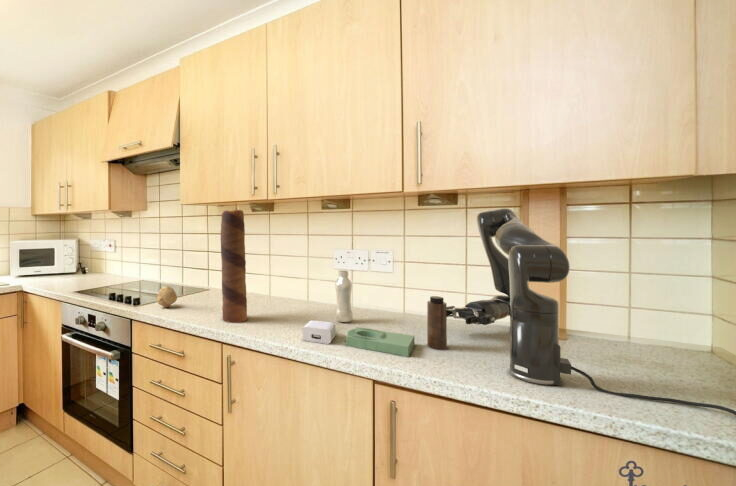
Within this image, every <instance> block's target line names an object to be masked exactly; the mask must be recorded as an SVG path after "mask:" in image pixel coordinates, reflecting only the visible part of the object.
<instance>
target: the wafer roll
mask: <svg viewBox="0 0 736 486" xmlns="http://www.w3.org/2000/svg"><path fill="white" fill-rule="evenodd" d="M245 235H246V229H245V215H244V211H243V210H242V209H232V210H228V209H224V210H223V211H222V213H221V222H220V258H221V296H222V320H223V321H225V322H228V323H241V322H246V321H247V320H248V298H247V283H246V277H247V276H246V273H247V272H246V271H247V269H246V265H247V264H246V263H247V261H246V245H245V244H246V243H245V237H246V236H245Z"/></svg>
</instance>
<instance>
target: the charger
mask: <svg viewBox="0 0 736 486" xmlns="http://www.w3.org/2000/svg"><path fill="white" fill-rule="evenodd" d="M301 330H302V333H301V334H302V340H303V341H305V342H310V343H319V344H325V345H327V344H328V345H329V344H331V342H332V341H333V340H334V338H335V336H336V335H337V327H336V324H335V323H334V322H330V321H321V320H314V319H313V320H309V321H308V322H307V323H306V324H305V325H304V326H303V327H302V329H301Z"/></svg>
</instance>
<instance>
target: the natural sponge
mask: <svg viewBox="0 0 736 486" xmlns="http://www.w3.org/2000/svg"><path fill="white" fill-rule="evenodd" d="M177 300H178V295H177V293H176V291H175V290H174V288H172V286H169V285H168V286H167V285H166V286H163V287H161V288H160V289H159V291H158V293H157V299H156V301H157V304H158V305H160V306H162V307H163V308H169V307H170V306H172V305H173V304H175V303H176V302H177Z"/></svg>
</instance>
